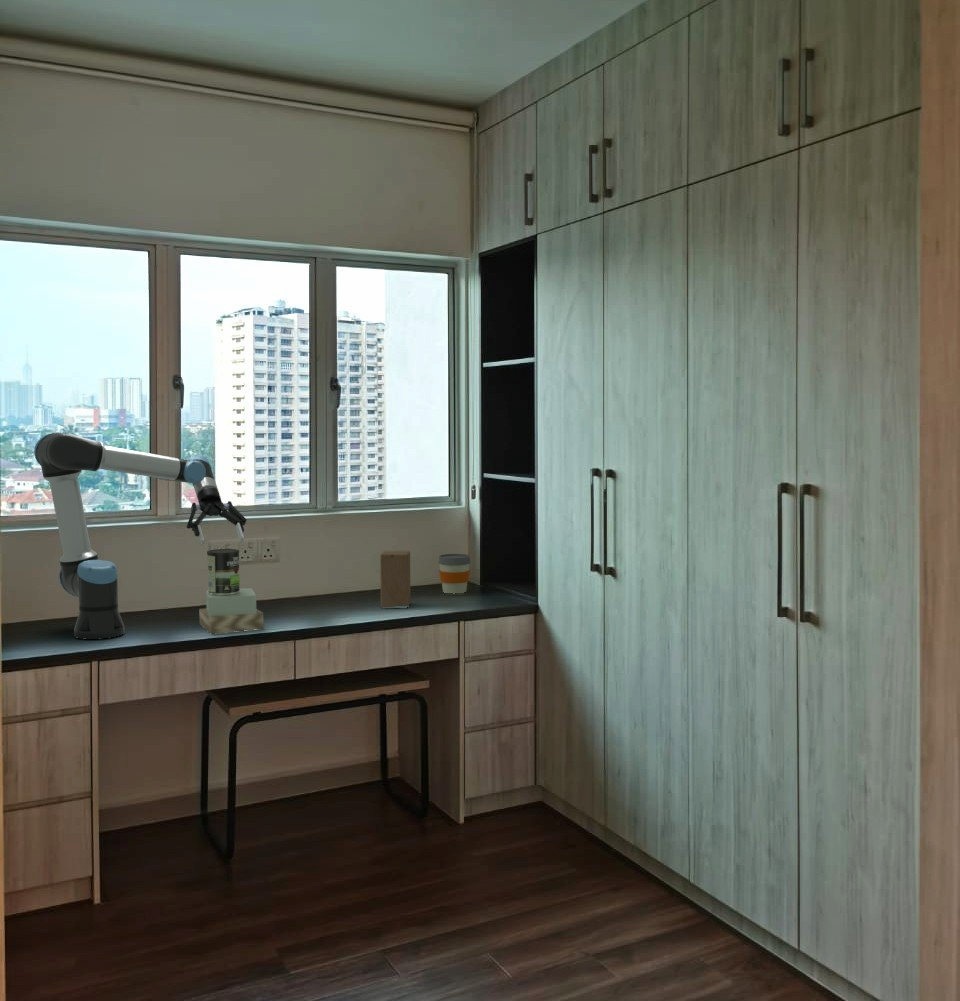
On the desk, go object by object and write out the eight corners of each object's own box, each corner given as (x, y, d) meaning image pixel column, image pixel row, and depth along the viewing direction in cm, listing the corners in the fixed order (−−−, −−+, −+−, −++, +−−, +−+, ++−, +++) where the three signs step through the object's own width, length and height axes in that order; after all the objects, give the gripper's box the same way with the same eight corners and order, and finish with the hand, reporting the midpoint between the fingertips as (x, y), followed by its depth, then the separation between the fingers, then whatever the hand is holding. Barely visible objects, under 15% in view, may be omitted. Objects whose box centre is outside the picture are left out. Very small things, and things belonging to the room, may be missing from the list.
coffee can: (246, 591, 337) (245, 549, 336) (227, 596, 328) (226, 553, 326) (220, 589, 341) (219, 548, 340) (201, 594, 331) (200, 551, 330)
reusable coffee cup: (438, 591, 404) (438, 553, 403) (469, 590, 405) (469, 553, 403) (439, 596, 391) (438, 558, 390) (471, 596, 392) (471, 558, 391)
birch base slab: (211, 636, 324) (210, 617, 323) (199, 626, 339) (199, 608, 338) (263, 631, 332) (263, 613, 331) (250, 621, 347) (249, 604, 346)
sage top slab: (208, 616, 326) (208, 598, 325) (206, 608, 340) (206, 590, 339) (256, 613, 330) (256, 595, 330) (252, 605, 344) (251, 588, 344)
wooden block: (408, 608, 367) (407, 554, 365) (380, 608, 367) (380, 554, 365) (410, 603, 377) (410, 550, 375) (383, 603, 377) (383, 550, 375)
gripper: (239, 499, 360) (255, 545, 349) (169, 502, 347) (183, 550, 335) (244, 485, 355) (260, 532, 344) (173, 487, 342) (188, 536, 330)
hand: (222, 541), depth 340 cm, fingers open, 13 cm apart
